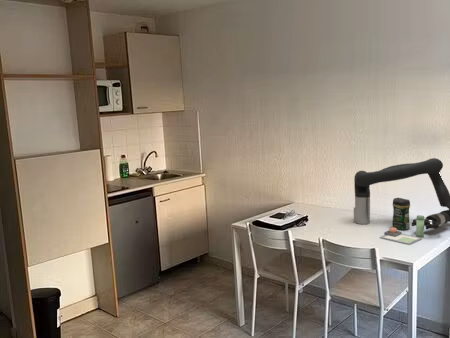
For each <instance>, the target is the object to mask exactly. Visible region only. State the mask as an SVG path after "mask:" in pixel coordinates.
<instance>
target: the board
mask: <svg viewBox="0 0 450 338" xmlns="http://www.w3.org/2000/svg"><path fill="white" fill-rule="evenodd" d="M383 233H384V234H383V235H381V236H380V237H379V239H381V240H386V241H390V242H395V243H399V244H403V245H408V246H410V245H413V244H415V243H417V242H419V241H422V240H423V238H424V237H423V238H420V237H416V235H415V236H414V235H411V234H405V233H402V231H399V230H397V233H389V230H387V231H384V232H383Z"/></svg>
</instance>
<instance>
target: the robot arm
mask: <svg viewBox="0 0 450 338" xmlns="http://www.w3.org/2000/svg"><path fill="white" fill-rule="evenodd" d="M443 166H444V164H443V162H442V160H440V159H439V158H436V157H433V158H428V159H426V160H424V161H420V162H413V163H412V162H410V163H401V164H396V165H391V166H388V167H385V168H383V169H380V170H377V171H370V172H369V171H368V172H367V171H365V170H359V171H357V172H356V173H355V174H354V183H353V184H354V207H353V223H355V224H358V225H369V224H370V223H371V190H370V186H372V185H375V184H379V183H386V182H393V181H395V182H396V181H400V180H404V179H410V178H412V177H416V176H419V175H425V174H426V175H428V176H429V179H430V181H431V183H432V185H433V188H434V191H435V193H436V197H437V200H438V202H439V205H440V207H442V208H447V209H446V210H445V209H444V210H443V211H440V212H438V213H433V214H429V215H427V216H426V217H424V227H425V230H429V229H433V230H437V229H439V228H441V226H442V225H446V224H448V223H449V222H450V191H449V189H448V187H447V185H446V184H445V182H444V180H442V179H443V178H441V177H442V175H441V176H440V174H439V172H440V173H441V171H442V169H443ZM416 219H417V218H415V219H412V222H411V227H415V226H416Z"/></svg>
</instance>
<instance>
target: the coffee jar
mask: <svg viewBox="0 0 450 338" xmlns="http://www.w3.org/2000/svg"><path fill="white" fill-rule="evenodd" d="M410 207H411V202H410V199H406V198H403V197H402V198H401V197H394V198H393V200H392V208H393V211H392V212H393V213H392V214H393V215H392V223H391V224H392V225H391V227H395V228H397V230H398V231H399V230H400V231H407V230H409V229H410V228H411V227H410V226H411V225H410Z"/></svg>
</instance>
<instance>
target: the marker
mask: <svg viewBox="0 0 450 338" xmlns="http://www.w3.org/2000/svg"><path fill="white" fill-rule="evenodd" d="M415 219H416V225H415V226H416V227H415V229H416V230H415V237H420V238H425V237H424V236H425V226H424V219H425V216H424V215H421V214H420V215H418V214H417V215H416V218H415Z"/></svg>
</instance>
